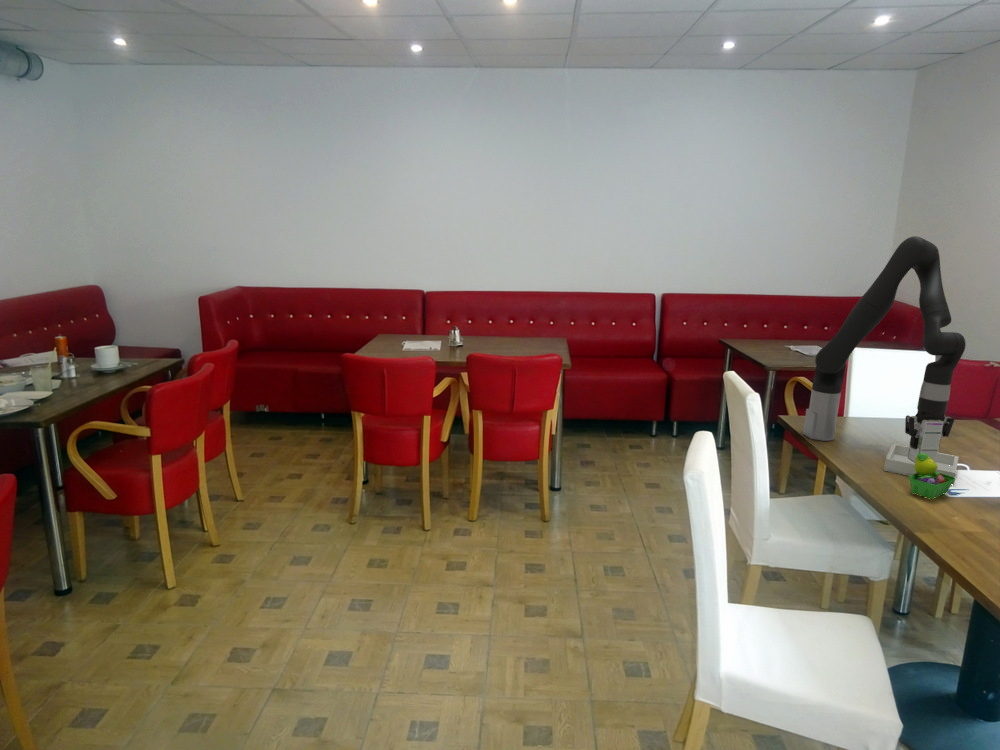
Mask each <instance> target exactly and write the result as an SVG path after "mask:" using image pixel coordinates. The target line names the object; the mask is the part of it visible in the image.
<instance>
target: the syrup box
mask: <svg viewBox="0 0 1000 750" xmlns="http://www.w3.org/2000/svg"><path fill="white" fill-rule="evenodd" d="M915 422H916V423H914V425H915V424H917V427H919V428H922V431H921V432H920V436H919V442H918V447H917V449H913V448H911V446H910V445H909V447H910V448H909V454H908V459H909V460H911V461H913V462H914V463H915V458H916V457H917V455H918V454H919V453H925V454H927V455H928V456H929V457H930V458H931V459H932V460H933V461H934V462H935V463H936V460H937V455H938V452H939V449H940V446H939V444H940V445H941V441H940V439H941V440H942V438H941V434H942V428H943V423H944V422H943V421H941V420H935V419H931V420H922V423H921V424H920V423H918V422H917V420H916V421H915ZM917 431H918V430H917ZM917 431H916V432H917Z"/></svg>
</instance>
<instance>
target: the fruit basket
mask: <svg viewBox="0 0 1000 750" xmlns="http://www.w3.org/2000/svg"><path fill="white" fill-rule="evenodd" d="M914 468H915V471H916V474H913V475H911V476H908V479H909V482H910V487H911V488H910V490H911V494H912V493H916V494H918V495H921V496H924V497H927V498H930V499H932V500H934V499H935V498H934V497H937V496H938V497H940V496H939V495H942V494H943V493H946V492H947V493H948V491H949V489H950V488H951V486H952V485H951V484H952V482H954V483H955V480H956V477H955V478H954V477H952V476H948V475H945V474H942V473H939V472H936V469H937V468H938V467H937V464H936V463H935V462H934V461H933V460H932V459H931V458H930V457H929V456H928V455H927V454H925V453H919V454H918V455H917V457H916V458H915V466H914ZM947 493H946V494H947ZM918 495H917V496H918ZM942 496H943V495H942ZM938 497H937V498H938ZM927 498H926V499H927ZM933 498H934V499H933Z"/></svg>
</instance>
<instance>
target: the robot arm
mask: <svg viewBox="0 0 1000 750" xmlns="http://www.w3.org/2000/svg"><path fill="white" fill-rule="evenodd" d="M886 263H887V264H886V265H885V267H883V269H882V271H881V272H880V274H879V275H878V276H877V278H876V279H875V280H874V281H873V283H872V284H871V286H870V287H869V288H868V289H867V290H866V292H865V293H864V294H863V295H862V296H861V298H859V300H858V301H857V302H856V304H855V305H854V306H853V308H852V309H851V310H850V312H849V314H848V315H847V317H846V318H845V320H844V322H843V323H842V325H841V327H840V328H839V330H838V332H836V334H835V335H834V336H833V338H831V339H830V341H828V343H827V344H825V346H823V347H822V348H821V349H820V350H819V351H817V354H816V356H815V359H814V360H815V365H816V366H815V373H814V376H813V381H812V386H811V392H810V393H811V394H810V401H809V406H808V408H806V410H805V417H804V423H803V430H802V434H803V435H804V436H805V437H807V438H809V439H811V440H817V441H824V442H825V441H826V442H829V441H830V442H831V441H833V440H834V438H835V434H836V433H835V432H836V427H837V420H838V414H839V406H840V401H841V394H842V387H843V384H844V379H845V373H846V366H847V360H848V359H849V358H850V356H851V355H852V353H853V352H854V350H855V349H856V347H857V346H858V345H859V343H861V342H862V341H863V340H864V339H865V338H866V337H867V336H868V335H869V334H870V333H871V332H872V331H873V330H874V329H875V328H876V327H877V326H878V325H879V324H880V323H881V322H882V320H883V319H884V318H885V317H886V316H887V314H888V312H890V310H891V309H892V307H893V305H894V302H895V299H896V296H897V291H898V289H899V286H900V284H901V282H902V280H903V279H904V277H905V276H906V275H907V274H908V272H909V271H910V270H911V269H912V270H914V272H915V274H916V275H917V278H918V281H919V286H920V289H919V290H920V291H919V298H918V304H919V305H918V306H919V310H920V313H921V317H922V320H923V338H922V346H923V349H924V350H925V352H926V353H928V354H929V355H931V356H940V358H939V359H938V360H936V361H933V362H932V361H931V362H929V363H927V364H926V366H925V369H924V370H925V371H924V374H923V375H924V376H923V380H922V383H921V386H920V390H919V395H918V396H919V397H918V402H917V407H916V409H917V411H916V414H915V415H911V416H910V415H908V414H907V415H906V416H905V422H904V423H905V428H904V429H905V430H904V432H905V434H906V435H909V436H910V441H909V447H910V446H911V448H913V449H917V447H918V442H919V436H920V432H921V431H922V428H919V427H917V424H915V425H914V423H916V422H915V421H916V420H917V422H918V423H920V424H921V423H922V420H931V419H935V420H941V421H943V422H944V423H943V428H942V434H941V439H940V442H941V441H942V439H943V438H945V437H949V435H950V433H951V431H952V427H953V425H954V423H955V419H954V418H953V417H950V416H948V415H947V416H945V414H946V413H947V409H948V405H949V400H950V395H951V384H952V380H953V376H954V370H955V369H956V367H957V365H958V364H959V362H960V360H961V358H962V357H963V355H964V352H965V350H966V338H965V337H964V336H963V334H961V333H959V332H957V331H955V332H953V331H949V332H948V331H947V332H946V331H942V330H941V329H942V328H945V327H947V326H949V325H950V324H951V323H952V316H951V313H950V312H951V311H950V309H949V305H948V302H947V299H946V296H945V291H944V290H945V289H944V286H943V281H942V273H941V272H942V271H941V258H940V252H939V249H938V247H937V245H935V244H934V243H933V242H931V241H930V240H926V239H924V238H923V237H921V236H915V235H914V236H909V237H908V238H906V239H904V240H903V241H902V242H901V243H900V244H899V245H898V246H897V248H896V249H895V250H894V252H893V253H892V256H891V257H890V258H889V260H888V261H887V262H886ZM917 430H918V431H917ZM916 431H917V432H916ZM939 447H941V443H940V444H939Z"/></svg>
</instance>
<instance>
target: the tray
mask: <svg viewBox="0 0 1000 750" xmlns="http://www.w3.org/2000/svg"><path fill="white" fill-rule="evenodd" d="M909 448H910V446H907V445H902V444H898V443H897V444H896V443H893V444H892V445H891V447H890V449H889V451H888V454H887V455H886V457H885V462H884V467H883V471H884V472H887V471H888V473H892V472H893V474H896V473H898V474H897V475H901V474H904V475H903V476H906V475H910V476H911V475H913V474H916V471H915V468H914V466H915V463H914V462H913V461H911V460H909V459H908V454H909ZM958 463H959V455H953V454H948V453H943V452H940V451H938V455H937V460H936V464H937V467H938V468H937V469H936V472H939V473H942V474H945V475H948V476H952V477H954V478H955V479H956V474H957V470H958V469H957V468H958ZM949 465H950V466H949ZM954 483H955V481H954V482H952V484H953V485H954Z"/></svg>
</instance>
